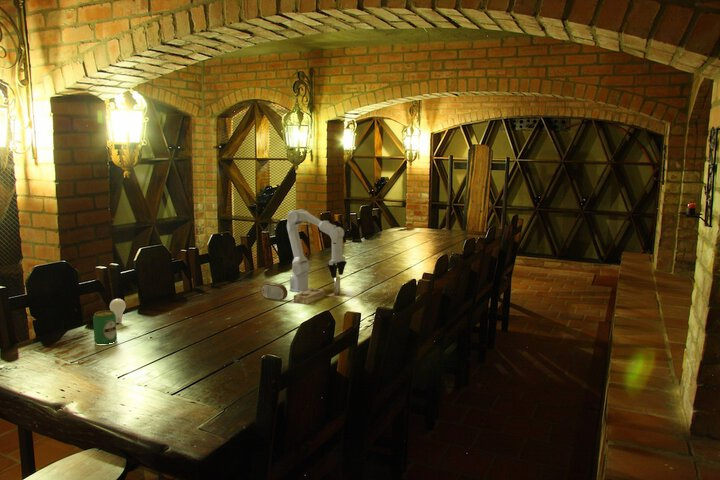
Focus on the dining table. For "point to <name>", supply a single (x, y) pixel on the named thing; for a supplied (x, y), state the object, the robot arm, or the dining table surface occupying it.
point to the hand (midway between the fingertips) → (337, 276)
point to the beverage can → (104, 327)
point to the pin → (337, 286)
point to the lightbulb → (118, 309)
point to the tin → (274, 291)
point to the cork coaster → (337, 296)
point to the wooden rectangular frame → (309, 296)
